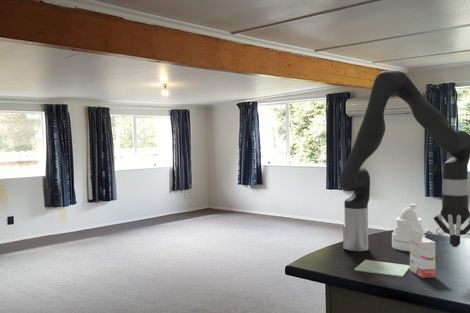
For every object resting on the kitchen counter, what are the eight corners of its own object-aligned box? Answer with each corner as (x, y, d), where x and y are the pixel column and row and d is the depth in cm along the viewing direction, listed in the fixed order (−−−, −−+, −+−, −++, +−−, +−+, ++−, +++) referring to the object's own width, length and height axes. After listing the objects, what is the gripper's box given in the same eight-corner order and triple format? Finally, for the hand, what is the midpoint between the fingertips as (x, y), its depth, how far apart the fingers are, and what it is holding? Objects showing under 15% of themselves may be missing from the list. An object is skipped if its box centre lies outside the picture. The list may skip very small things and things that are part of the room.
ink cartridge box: (436, 277, 144) (436, 232, 143) (421, 278, 143) (421, 233, 143) (423, 269, 152) (423, 227, 152) (409, 270, 152) (409, 228, 151)
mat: (354, 270, 153) (354, 269, 153) (365, 260, 164) (365, 259, 164) (402, 277, 145) (402, 275, 145) (410, 266, 156) (410, 265, 156)
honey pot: (428, 245, 184) (427, 202, 183) (422, 252, 173) (422, 207, 173) (395, 242, 191) (395, 200, 190) (388, 249, 180) (388, 205, 179)
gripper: (430, 193, 142) (431, 246, 142) (477, 195, 135) (477, 251, 135) (434, 190, 148) (434, 241, 149) (479, 192, 141) (479, 246, 142)
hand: (455, 246), depth 142 cm, fingers closed
